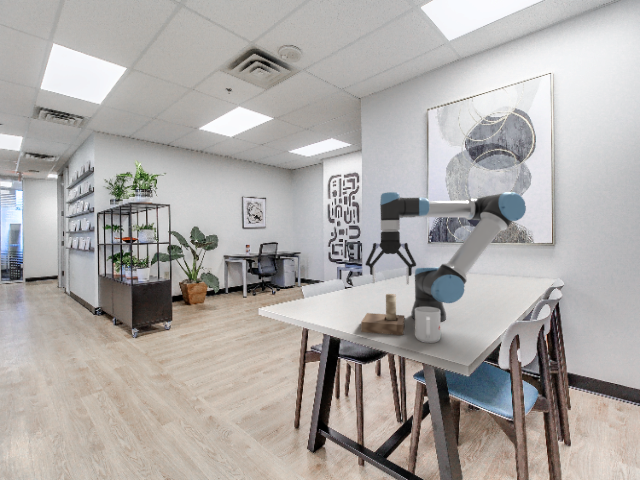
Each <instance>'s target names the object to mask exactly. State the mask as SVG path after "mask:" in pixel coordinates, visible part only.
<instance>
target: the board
mask: <svg viewBox="0 0 640 480" xmlns="http://www.w3.org/2000/svg"><path fill="white" fill-rule="evenodd" d="M360 324H361V326H360V329H361V330H360V331H361V333H371V334H381V335H383V334H385V335H394V336H395V335H396V336H403V335H404V330H405V315H403V314H400V315H399V314H396V321H386V313H385V314H384V313H370V312H366V314H365V315H364V317H363V318H362V320H361V323H360Z"/></svg>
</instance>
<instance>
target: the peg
mask: <svg viewBox="0 0 640 480" xmlns="http://www.w3.org/2000/svg"><path fill="white" fill-rule="evenodd" d="M385 314H386V321H396V315H397V295H396V294H394V293H385Z"/></svg>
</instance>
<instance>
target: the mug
mask: <svg viewBox="0 0 640 480" xmlns="http://www.w3.org/2000/svg"><path fill="white" fill-rule="evenodd" d="M441 330H442V329H441V321H440V309H438V308H434V307H417V308H415V319H414V336H415V338H416V339H417V340H418V341H419V342H422V343H425V344H427V343H428V344H434V343H437V342H439V340H440V339H441V336H442V335H441Z"/></svg>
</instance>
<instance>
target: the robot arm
mask: <svg viewBox="0 0 640 480" xmlns="http://www.w3.org/2000/svg"><path fill="white" fill-rule="evenodd" d="M379 202H380V204H379V206H380V231H381V232H380V243H376V242H374V243H372V249H371V251H370V253H369V255H368V257H367V260H366V262H365V266H367V267H369V274H370V276H372V284H376V266H375V264H377V262H378V261H379V260H380V259H381V258H382V256H383V255H384V254H385V255H395V254H396V255H397V256H398V257H399V258H400V259H401V260H402V261H403V263H404V264H405V265H406V285H409V284H410V277H412V275H413V274H412V272H413V271H412V270H413V269H412V268H415V267H416V266H417V263H416V260H415V258H414V256H413V254H412V252H411V251H410V249H409V244H408V242H405V243H402V242H401V240H400V239H401V238H400V237H401V236H400V235H401V234H400V229H401V228H400V224H401V223H400V220H401V219H402V218H465V220H467V221H468V220H470V221H471V220H473V221H479V222H478V223H477V225H475V227H474V228H473V230H471V232H470V233H469V235H467V237H466V239H465V240H464V241H463V243H462V244H461V245H460V246H459V248H458V249H457V250H456V251H455V252H454V254H453V256H452V257H451V258H450V259H449V261H448V262H446V263H442V264H441V265H440V266H439V267H437V266H436V267H417V268H415V270H414V294H415V295H414V302H413V305H412V309H411V314H410V317H411V318H412V319H413V320H415V308H417V307H434V308H438V309H440V322H444V321H445V320H447V312H446V310H445V307H444V304H453V303H456V302H458V301H460V300H461V299H462V297H463V295H464V294H465V284H466V283H467V281H468V279H467V275H468V273H469V272H470V271H471V269H473V267H474V266H475V264H477V262H478V261H479V259H480V258H481V256H482V255H483V254H484V253H485V251H486V250H487V248H488V247H490V245H491V244H492V242H493V241H494V239H495V238H496V237H497V236H498V234H499V233H500V232H501V231H506V230H507V229H508V228H509V226H510V225H511V224H512V223H513V222H516V221H517V222H518V221H519V220H520V219H522V218H524V216H525V214H526V211H527V206H526V202H525V199H524V198H523V197H522V196H521V195H520V194H519V193H517V192H514V191H513V192H509V191H507V192H503V193H499V194H492V195H491V194H490V195H485V196H482V197H478V198H477V197H476V198H467V199H466V200H429V199H428V198H426V197H420V196H418V197H400V193H399V192H395V191H391V192H383V193H381V194H380V200H379ZM401 247H402V249H403V250H405V252H406V254H407V257H408V258H409V260H408V259H407V258H406V257H405V255H403V253H402V252H401V251H400V249H401ZM379 248H380V249H381V251H380V252H379V253H378V255H377V256H376V257H375V258H374V259H373V257H374V254H375V253H376V250H377V249H379ZM372 259H373V261H372ZM371 261H372V262H371ZM443 303H444V304H443Z"/></svg>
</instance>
